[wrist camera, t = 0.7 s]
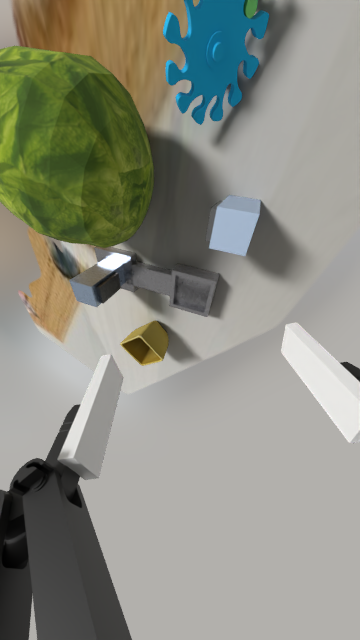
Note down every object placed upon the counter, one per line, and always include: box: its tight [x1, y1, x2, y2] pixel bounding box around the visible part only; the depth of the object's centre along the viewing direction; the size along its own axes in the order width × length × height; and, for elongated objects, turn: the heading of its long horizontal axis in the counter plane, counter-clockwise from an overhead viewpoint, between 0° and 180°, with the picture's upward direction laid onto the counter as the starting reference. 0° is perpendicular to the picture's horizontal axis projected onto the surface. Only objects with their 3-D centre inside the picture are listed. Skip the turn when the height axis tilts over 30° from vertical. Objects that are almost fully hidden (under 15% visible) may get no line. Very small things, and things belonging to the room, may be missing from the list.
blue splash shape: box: [163, 0, 269, 125], centre depth 18 cm, size 11×6×10 cm
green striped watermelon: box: [0, 46, 154, 248], centre depth 23 cm, size 19×23×18 cm
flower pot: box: [120, 321, 169, 366], centre depth 48 cm, size 9×9×9 cm
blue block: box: [205, 195, 261, 256], centre depth 24 cm, size 4×5×10 cm
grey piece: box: [69, 246, 219, 317], centre depth 36 cm, size 9×27×12 cm, turn 83°
